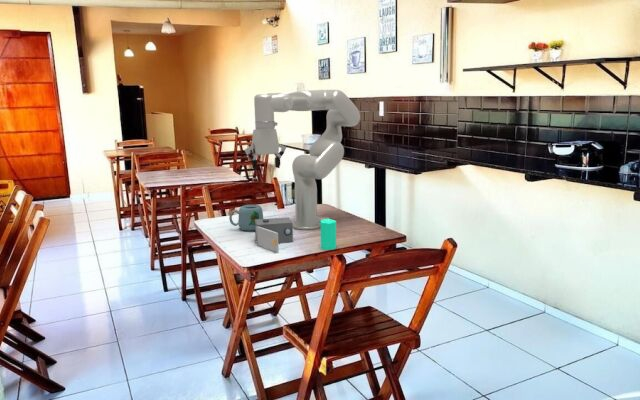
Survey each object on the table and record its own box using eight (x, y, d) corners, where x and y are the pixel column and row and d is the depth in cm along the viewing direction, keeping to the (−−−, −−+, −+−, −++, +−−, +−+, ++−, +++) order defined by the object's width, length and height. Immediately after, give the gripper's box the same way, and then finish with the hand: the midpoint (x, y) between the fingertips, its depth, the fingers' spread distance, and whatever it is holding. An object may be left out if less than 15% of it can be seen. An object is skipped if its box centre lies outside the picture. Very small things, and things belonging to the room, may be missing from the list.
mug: (233, 234, 221) (232, 211, 219) (226, 228, 231) (225, 206, 229) (267, 230, 227) (266, 207, 224) (259, 224, 236) (259, 202, 234)
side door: (278, 251, 195) (278, 232, 194) (275, 252, 194) (274, 233, 193) (258, 243, 205) (257, 225, 204) (255, 244, 204) (254, 226, 203)
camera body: (289, 236, 217) (288, 215, 215) (293, 242, 208) (292, 220, 206) (255, 238, 214) (254, 217, 212) (257, 244, 205) (257, 223, 203)
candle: (320, 245, 204) (319, 215, 201) (335, 245, 204) (335, 215, 202) (321, 250, 198) (321, 219, 196) (337, 249, 198) (337, 218, 196)
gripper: (281, 124, 216) (282, 165, 219) (240, 126, 208) (242, 169, 212) (288, 125, 209) (289, 168, 213) (247, 127, 201) (249, 171, 205)
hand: (266, 168), depth 212 cm, fingers open, 9 cm apart
